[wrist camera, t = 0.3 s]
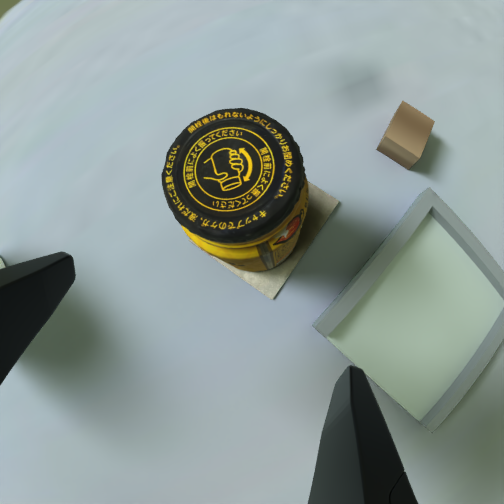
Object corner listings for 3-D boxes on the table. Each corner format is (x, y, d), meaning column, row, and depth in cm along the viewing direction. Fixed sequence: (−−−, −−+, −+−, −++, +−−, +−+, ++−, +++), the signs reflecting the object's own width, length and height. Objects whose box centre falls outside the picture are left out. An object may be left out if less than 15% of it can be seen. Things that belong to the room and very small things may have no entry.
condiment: (189, 241, 23) (106, 194, 11) (256, 150, 23) (236, 40, 11) (272, 299, 22) (264, 312, 10) (338, 202, 22) (390, 120, 10)
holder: (423, 425, 20) (432, 433, 18) (311, 325, 21) (314, 328, 20) (512, 301, 20) (524, 301, 18) (419, 194, 22) (429, 187, 20)
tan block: (408, 169, 22) (419, 158, 20) (376, 149, 23) (385, 135, 20) (423, 134, 22) (434, 121, 20) (393, 115, 23) (402, 100, 20)
